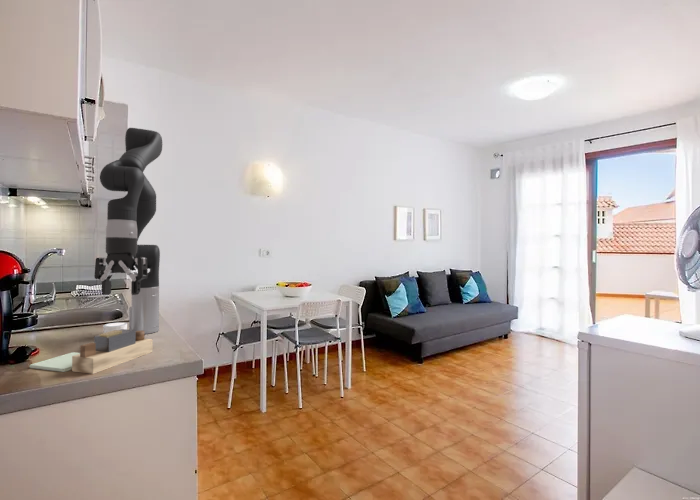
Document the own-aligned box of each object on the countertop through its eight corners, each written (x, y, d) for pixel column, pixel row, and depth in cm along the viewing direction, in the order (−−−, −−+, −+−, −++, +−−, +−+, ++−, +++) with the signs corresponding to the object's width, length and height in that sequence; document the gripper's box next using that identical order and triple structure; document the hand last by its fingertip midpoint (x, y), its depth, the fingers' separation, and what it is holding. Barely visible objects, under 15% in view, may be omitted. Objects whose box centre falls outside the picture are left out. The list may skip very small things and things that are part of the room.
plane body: (72, 371, 97) (72, 344, 97) (134, 350, 116) (134, 328, 116) (93, 373, 95) (93, 347, 95) (152, 352, 115) (152, 329, 115)
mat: (29, 367, 99) (29, 364, 99) (72, 354, 111) (72, 352, 111) (64, 372, 96) (64, 368, 96) (104, 358, 108) (104, 355, 108)
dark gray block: (94, 350, 102) (94, 334, 102) (121, 342, 111) (121, 327, 111) (108, 352, 101) (108, 335, 101) (135, 343, 110) (135, 328, 109)
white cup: (120, 341, 127) (120, 321, 126) (131, 344, 123) (131, 323, 123) (98, 346, 121) (98, 324, 121) (109, 349, 117) (109, 327, 117)
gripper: (154, 237, 106) (153, 293, 106) (108, 238, 108) (107, 293, 107) (136, 235, 99) (135, 296, 98) (87, 236, 100) (86, 295, 100)
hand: (120, 294), depth 103 cm, fingers open, 8 cm apart
